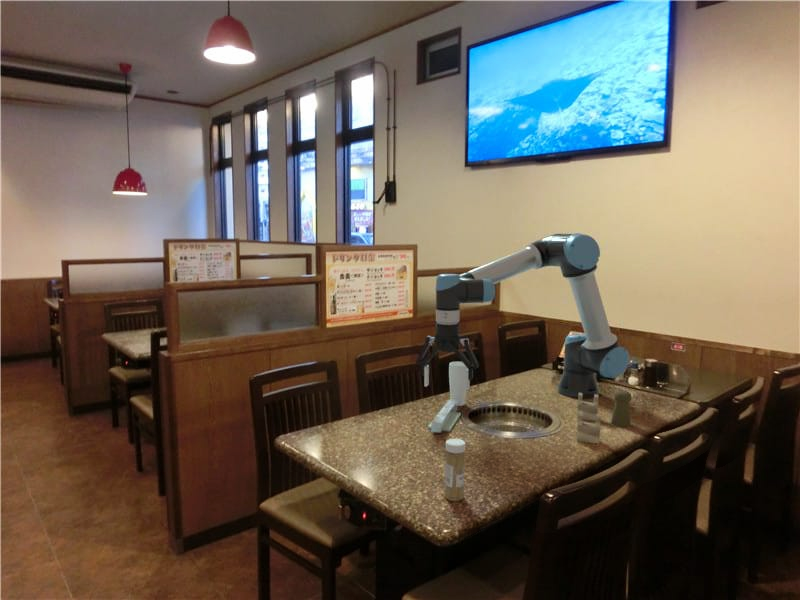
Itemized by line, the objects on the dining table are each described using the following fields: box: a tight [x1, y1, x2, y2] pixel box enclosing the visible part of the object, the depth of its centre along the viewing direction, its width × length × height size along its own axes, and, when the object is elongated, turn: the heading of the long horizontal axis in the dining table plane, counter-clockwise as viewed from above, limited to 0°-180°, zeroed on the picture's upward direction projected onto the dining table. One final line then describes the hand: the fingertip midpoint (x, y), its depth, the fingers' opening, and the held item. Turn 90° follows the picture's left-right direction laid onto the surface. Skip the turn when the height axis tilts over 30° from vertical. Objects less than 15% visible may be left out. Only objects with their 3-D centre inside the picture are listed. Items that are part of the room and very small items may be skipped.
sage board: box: [427, 411, 462, 433], centre depth 173 cm, size 16×7×1 cm, turn 161°
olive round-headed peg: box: [610, 390, 632, 428], centre depth 173 cm, size 6×6×11 cm
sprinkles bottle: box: [444, 438, 466, 502], centre depth 123 cm, size 5×5×14 cm
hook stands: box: [576, 393, 602, 445], centre depth 168 cm, size 24×6×8 cm, turn 161°
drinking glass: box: [448, 361, 467, 407], centre depth 190 cm, size 7×7×15 cm
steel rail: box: [430, 399, 459, 434], centre depth 173 cm, size 24×3×3 cm, turn 162°
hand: (446, 387), depth 172 cm, fingers open, 13 cm apart
